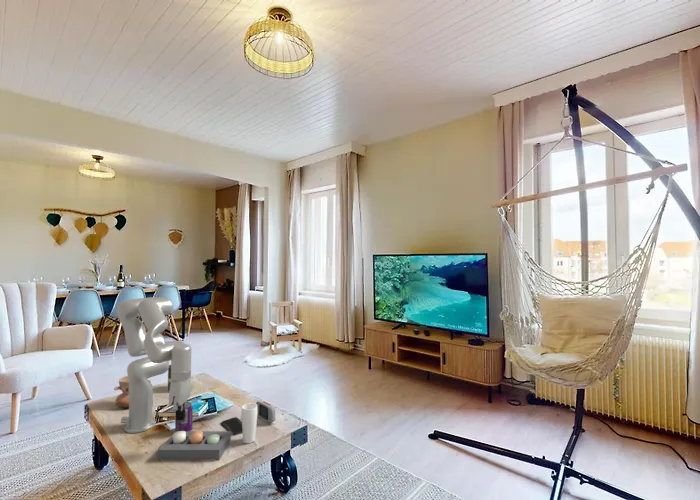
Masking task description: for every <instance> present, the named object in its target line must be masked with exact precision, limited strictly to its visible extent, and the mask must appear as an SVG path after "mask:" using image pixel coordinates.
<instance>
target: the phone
mask: <svg viewBox="0 0 700 500" xmlns="http://www.w3.org/2000/svg"><path fill="white" fill-rule="evenodd" d="M220 423H221V425H222V427H223V428H225V430H226V431H231V435H232V436H237V435H240V434H243V432H242V420H240V419H239V418H238V417H237V416H235V417H232V418H231V417H230V418H228V419H225V420H222V421H221V422H220Z"/></svg>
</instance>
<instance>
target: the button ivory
mask: <svg viewBox="0 0 700 500" xmlns="http://www.w3.org/2000/svg"><path fill="white" fill-rule="evenodd" d="M172 435H173V444H184V442H185V441H186V432H185V431H178V432H176V433H172Z"/></svg>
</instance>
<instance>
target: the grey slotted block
mask: <svg viewBox="0 0 700 500" xmlns="http://www.w3.org/2000/svg"><path fill="white" fill-rule="evenodd" d="M195 431H196V430H195ZM195 431H194V430H193V431H192V430H190V431H185V432H186V441H185V442H184V444H173V434H174V433H176V432H178V431H174V433H173V434H172V435H171V436H169V437H168V439H167V440H166V441H165V442H164V443H163V444H162V445H161V446H160V447H159V448H158V451H157V452H158V453H157V455H158V456H157V460H158V461H220V459H221V458H222V457H223V455H224V453H225V451H226V450H227V447H228V446H229V444H230V443H231V441H232V440H231V439H232V436H231V435H232V434H231V431H228V430H225V431H221V430H219V431H217V430H215V431H209V430H208V431H202V432H203V441H202V443H201V444H190V434H191V433H193V432H195ZM213 434H218V435H219V436H220V440H219V443H218V444H207V437H208V436H210V435H213Z"/></svg>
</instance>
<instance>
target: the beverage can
mask: <svg viewBox="0 0 700 500" xmlns="http://www.w3.org/2000/svg"><path fill="white" fill-rule="evenodd" d="M193 409H194V407H193V405H192V402H191V401H186V408H185V418H184V419H183V420H176V417H175V418H174V419H175V422H174V423H175V426H174V427H175V429H174V430H175V431H192V430H193V417H194V415H193ZM175 431H174V432H175Z"/></svg>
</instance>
